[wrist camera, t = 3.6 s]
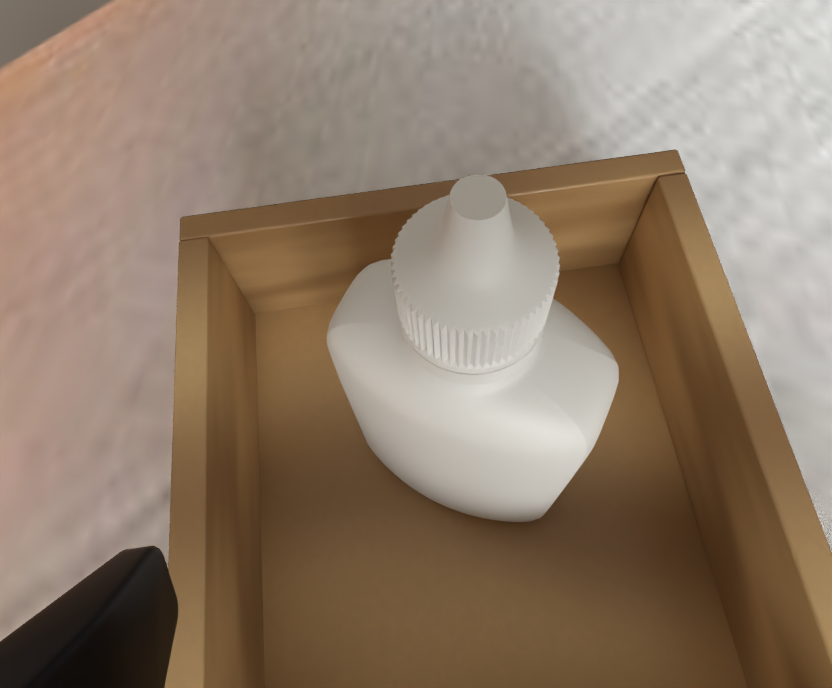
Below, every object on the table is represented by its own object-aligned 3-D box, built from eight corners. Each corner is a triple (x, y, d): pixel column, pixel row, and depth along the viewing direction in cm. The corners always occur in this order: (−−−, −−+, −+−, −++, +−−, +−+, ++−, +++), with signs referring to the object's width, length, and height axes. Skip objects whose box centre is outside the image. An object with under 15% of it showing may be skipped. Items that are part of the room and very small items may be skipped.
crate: (808, 795, 15) (952, 860, 11) (240, 877, 15) (154, 974, 11) (632, 245, 22) (678, 147, 17) (234, 300, 22) (179, 215, 17)
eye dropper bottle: (465, 341, 20) (480, -4, 9) (584, 485, 18) (783, 261, 7) (349, 419, 19) (215, 141, 8) (461, 580, 17) (475, 488, 6)
